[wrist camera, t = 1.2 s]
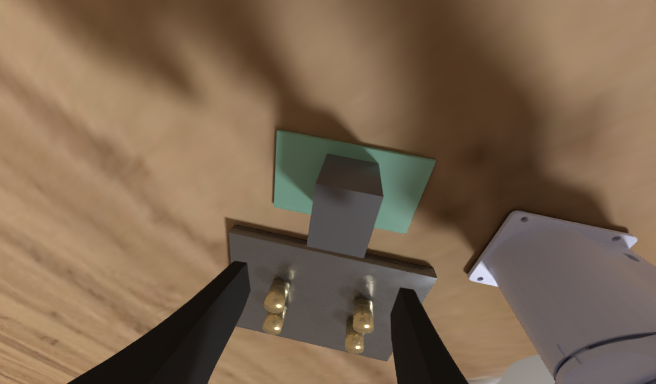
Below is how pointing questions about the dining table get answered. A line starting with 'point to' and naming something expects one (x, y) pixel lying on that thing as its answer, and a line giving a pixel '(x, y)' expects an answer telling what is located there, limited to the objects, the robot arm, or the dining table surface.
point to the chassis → (322, 292)
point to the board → (310, 163)
